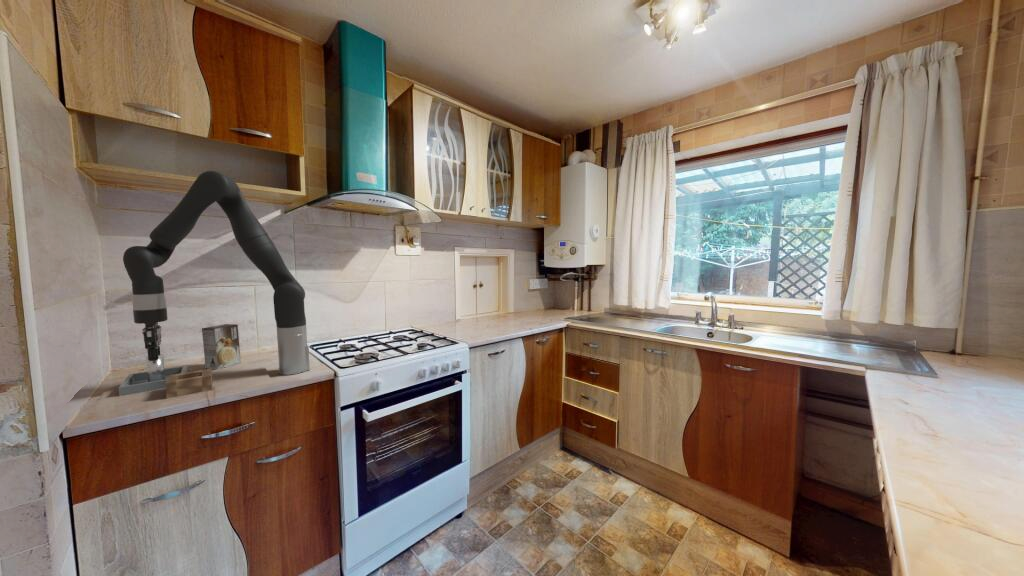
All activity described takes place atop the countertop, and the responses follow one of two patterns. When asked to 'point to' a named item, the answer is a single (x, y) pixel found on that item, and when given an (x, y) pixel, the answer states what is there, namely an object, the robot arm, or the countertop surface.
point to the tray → (146, 381)
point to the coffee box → (221, 346)
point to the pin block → (189, 383)
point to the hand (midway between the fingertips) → (154, 358)
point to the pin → (155, 369)
